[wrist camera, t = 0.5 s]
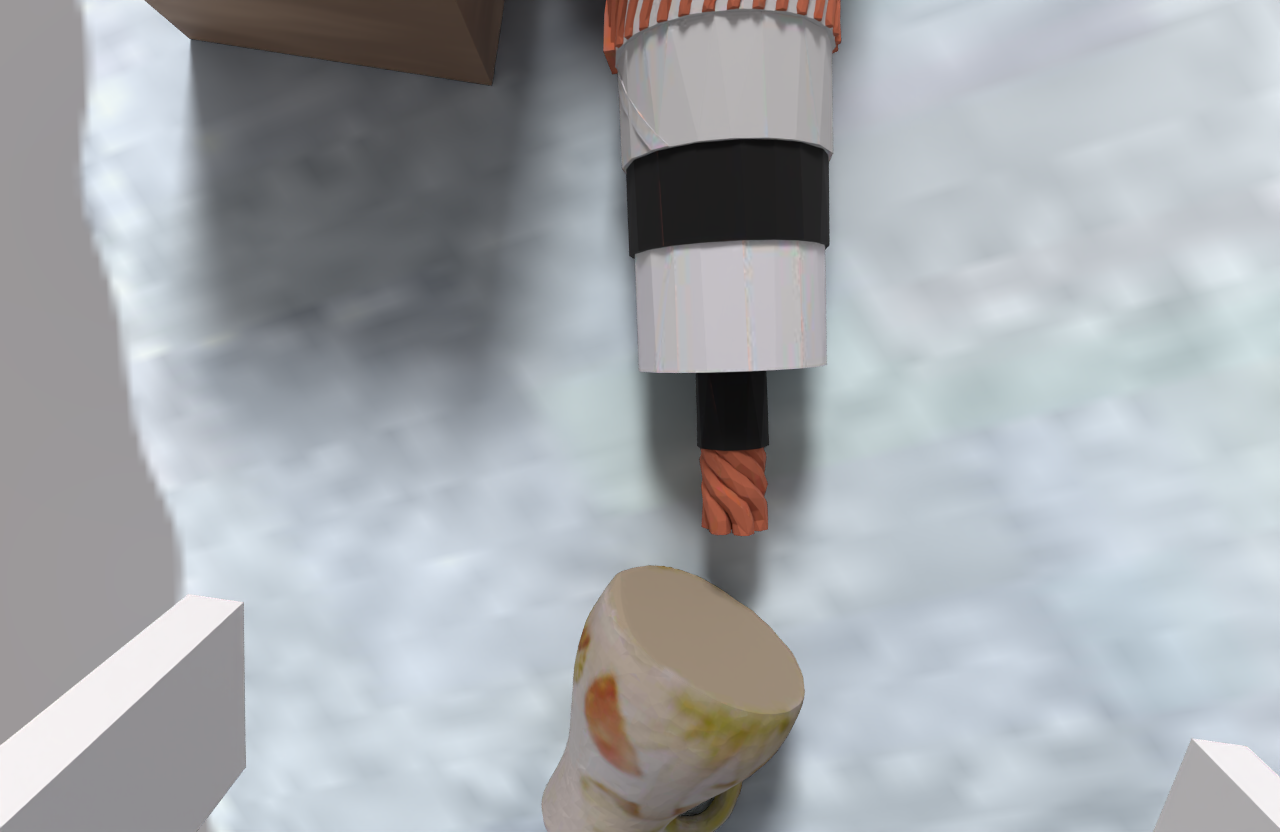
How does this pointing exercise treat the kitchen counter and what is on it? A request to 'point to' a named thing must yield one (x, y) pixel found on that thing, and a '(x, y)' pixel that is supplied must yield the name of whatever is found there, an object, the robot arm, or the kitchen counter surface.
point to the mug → (669, 707)
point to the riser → (355, 31)
